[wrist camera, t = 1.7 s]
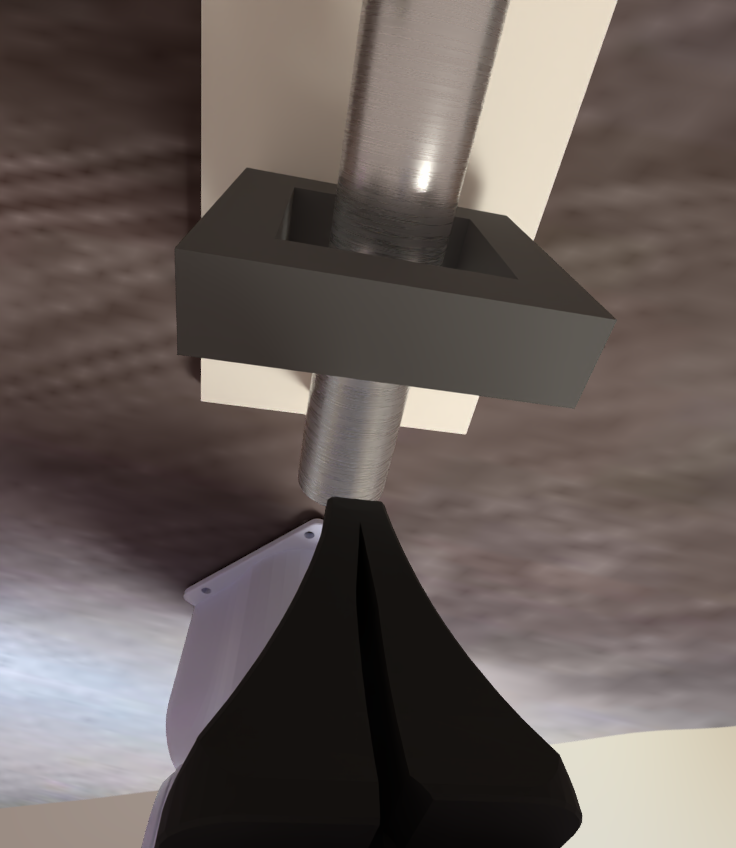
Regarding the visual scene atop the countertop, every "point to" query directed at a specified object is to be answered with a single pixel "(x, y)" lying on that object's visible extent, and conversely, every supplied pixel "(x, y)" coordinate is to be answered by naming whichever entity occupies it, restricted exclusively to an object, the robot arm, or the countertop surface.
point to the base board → (325, 125)
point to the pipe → (397, 200)
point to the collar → (382, 300)
